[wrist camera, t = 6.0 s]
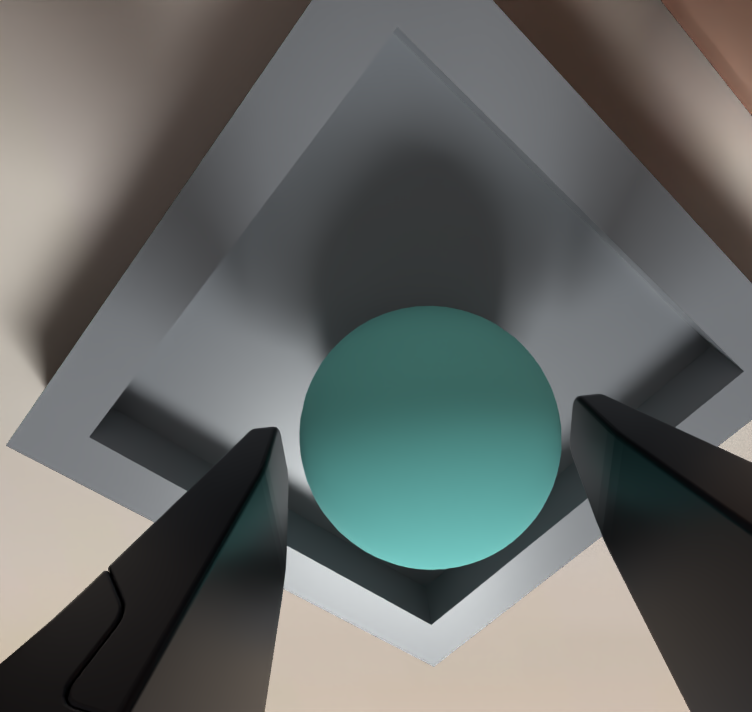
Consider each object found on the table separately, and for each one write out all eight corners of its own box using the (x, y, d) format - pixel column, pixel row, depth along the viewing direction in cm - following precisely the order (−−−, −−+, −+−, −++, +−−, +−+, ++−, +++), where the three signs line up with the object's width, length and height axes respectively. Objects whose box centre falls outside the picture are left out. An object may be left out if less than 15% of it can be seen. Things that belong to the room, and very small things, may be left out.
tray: (765, 325, 12) (824, 363, 10) (424, 607, 15) (433, 667, 13) (380, -83, 8) (388, -113, 7) (47, 396, 11) (6, 445, 10)
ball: (563, 357, 11) (670, 502, 7) (420, 489, 12) (454, 667, 9) (404, 222, 10) (443, 321, 6) (262, 387, 11) (225, 547, 7)
